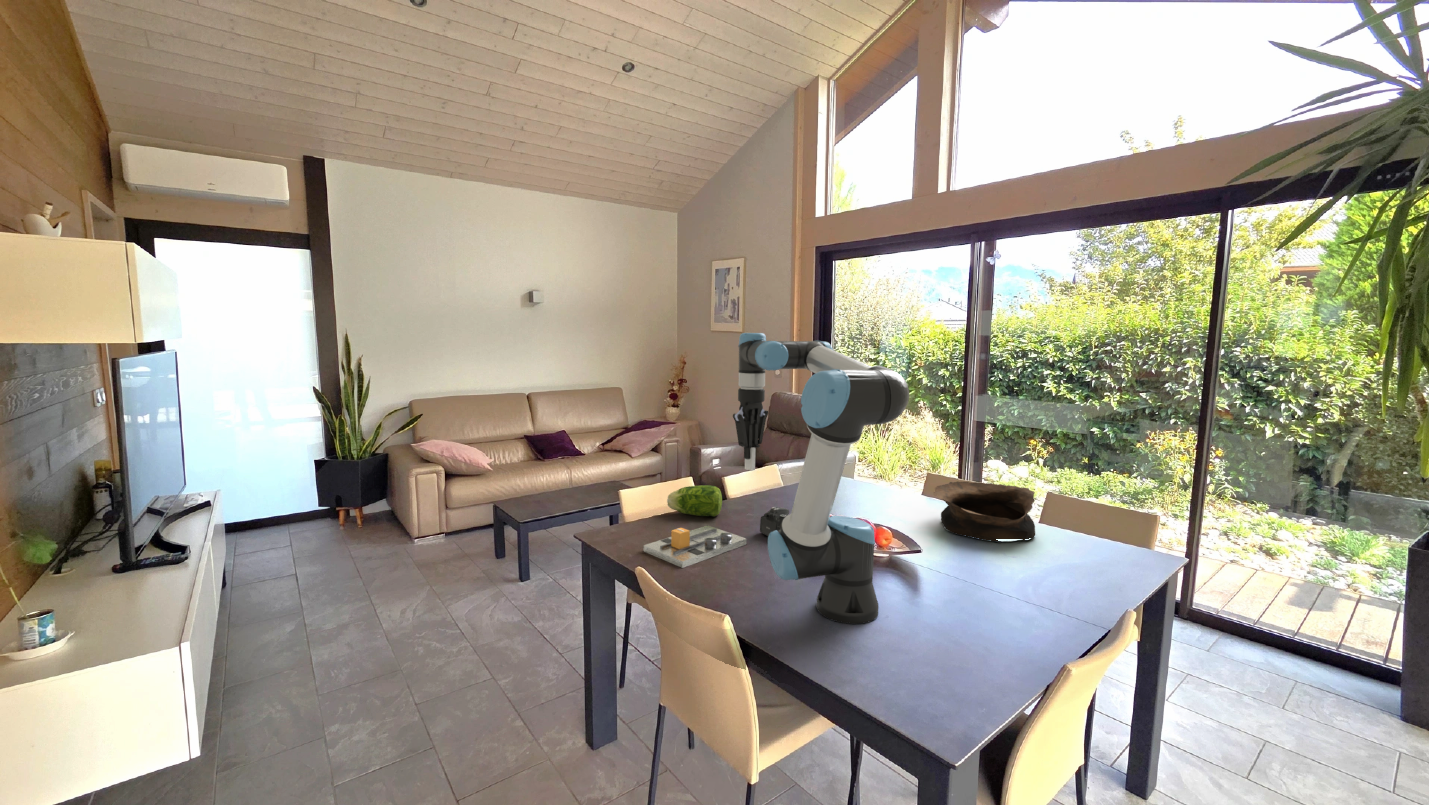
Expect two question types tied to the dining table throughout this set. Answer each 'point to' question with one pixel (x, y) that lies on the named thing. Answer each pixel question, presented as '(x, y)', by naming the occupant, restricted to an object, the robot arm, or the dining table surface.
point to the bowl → (987, 510)
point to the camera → (772, 520)
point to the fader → (680, 538)
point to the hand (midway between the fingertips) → (749, 469)
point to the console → (696, 546)
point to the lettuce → (696, 500)
